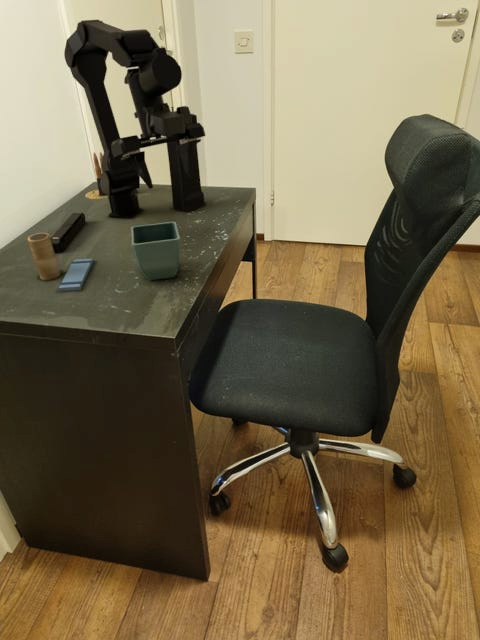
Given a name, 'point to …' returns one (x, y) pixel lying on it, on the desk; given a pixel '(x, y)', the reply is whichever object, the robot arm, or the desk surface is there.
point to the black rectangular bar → (67, 231)
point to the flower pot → (157, 249)
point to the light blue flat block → (76, 275)
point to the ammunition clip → (98, 172)
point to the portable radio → (184, 179)
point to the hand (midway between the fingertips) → (171, 183)
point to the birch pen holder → (44, 256)
